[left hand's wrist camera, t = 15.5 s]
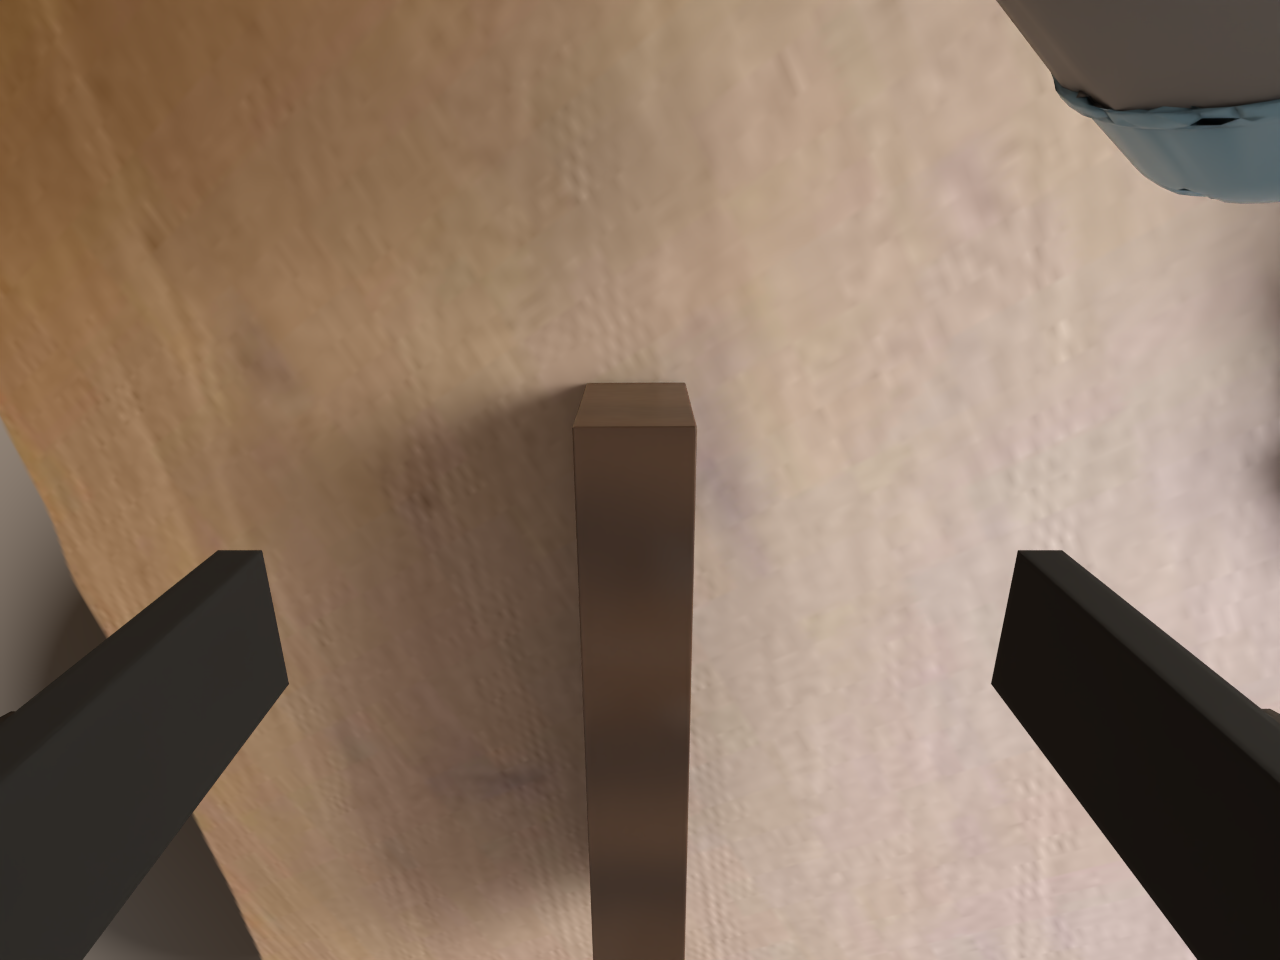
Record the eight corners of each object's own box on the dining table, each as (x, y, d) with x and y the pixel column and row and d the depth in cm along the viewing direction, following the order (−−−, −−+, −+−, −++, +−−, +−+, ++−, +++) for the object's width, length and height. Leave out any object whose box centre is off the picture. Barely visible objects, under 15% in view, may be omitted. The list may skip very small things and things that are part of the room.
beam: (586, 383, 36) (572, 426, 29) (685, 382, 36) (696, 426, 29) (601, 861, 47) (594, 983, 40) (677, 861, 47) (684, 982, 40)
